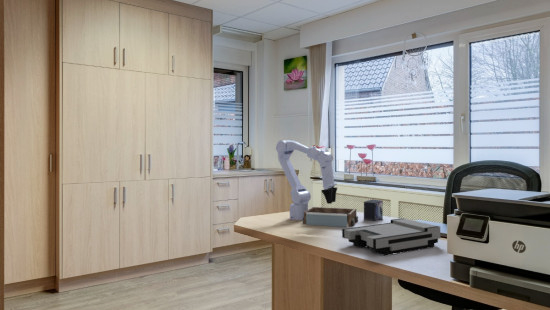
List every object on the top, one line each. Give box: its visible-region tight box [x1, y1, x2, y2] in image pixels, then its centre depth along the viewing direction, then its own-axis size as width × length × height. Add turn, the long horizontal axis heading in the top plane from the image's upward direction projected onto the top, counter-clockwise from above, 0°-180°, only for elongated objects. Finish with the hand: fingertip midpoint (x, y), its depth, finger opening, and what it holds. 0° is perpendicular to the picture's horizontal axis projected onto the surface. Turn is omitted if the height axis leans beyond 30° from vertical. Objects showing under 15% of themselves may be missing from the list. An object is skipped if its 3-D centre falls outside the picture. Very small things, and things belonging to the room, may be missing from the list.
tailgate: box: [305, 212, 348, 228], centre depth 207 cm, size 20×1×6 cm, turn 69°
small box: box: [363, 198, 384, 222], centre depth 222 cm, size 11×6×10 cm, turn 143°
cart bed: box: [302, 206, 359, 228], centre depth 215 cm, size 25×16×7 cm, turn 69°
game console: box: [341, 217, 441, 256], centre depth 170 cm, size 21×32×8 cm, turn 116°
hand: (331, 202), depth 213 cm, fingers open, 7 cm apart
